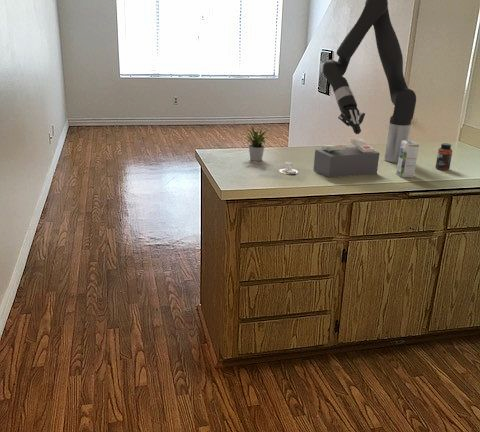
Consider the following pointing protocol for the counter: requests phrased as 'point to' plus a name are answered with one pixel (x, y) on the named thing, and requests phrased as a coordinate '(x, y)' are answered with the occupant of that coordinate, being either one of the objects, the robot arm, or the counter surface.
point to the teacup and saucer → (288, 168)
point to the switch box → (345, 162)
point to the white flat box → (361, 145)
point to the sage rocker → (333, 147)
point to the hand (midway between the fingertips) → (358, 133)
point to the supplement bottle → (444, 157)
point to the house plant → (256, 144)
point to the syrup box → (407, 158)
